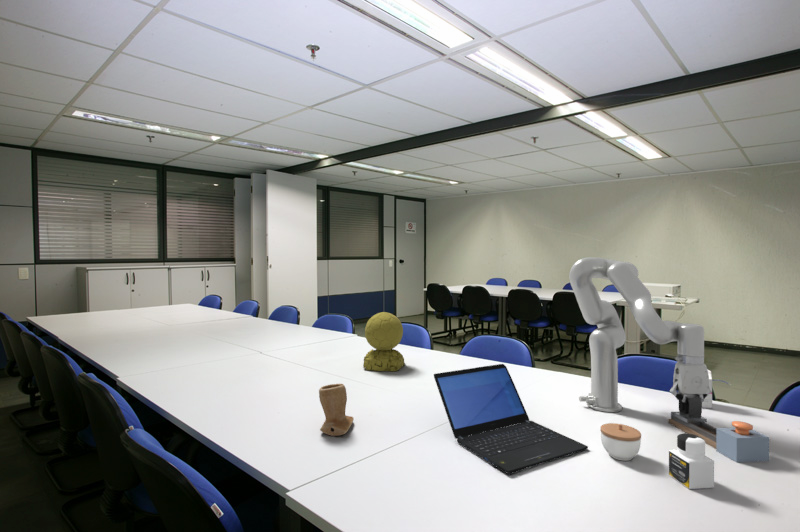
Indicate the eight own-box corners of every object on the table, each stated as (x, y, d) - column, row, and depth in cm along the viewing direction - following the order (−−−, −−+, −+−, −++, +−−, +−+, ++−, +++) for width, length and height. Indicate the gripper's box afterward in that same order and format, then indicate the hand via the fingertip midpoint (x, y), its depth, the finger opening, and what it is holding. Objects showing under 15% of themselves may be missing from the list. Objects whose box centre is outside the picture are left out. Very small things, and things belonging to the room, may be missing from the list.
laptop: (507, 478, 111) (507, 407, 111) (432, 428, 144) (432, 373, 144) (590, 451, 127) (590, 388, 126) (504, 412, 160) (504, 362, 159)
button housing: (736, 462, 119) (736, 438, 119) (716, 451, 126) (716, 428, 126) (769, 461, 119) (769, 437, 119) (747, 450, 126) (747, 427, 126)
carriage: (687, 427, 140) (687, 398, 140) (674, 420, 146) (674, 393, 145) (706, 426, 140) (706, 398, 140) (693, 419, 146) (693, 392, 146)
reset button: (741, 440, 120) (741, 427, 120) (727, 433, 125) (727, 421, 125) (757, 440, 120) (757, 427, 120) (742, 433, 125) (742, 420, 125)
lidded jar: (592, 451, 126) (592, 421, 126) (617, 445, 130) (617, 415, 130) (623, 467, 116) (623, 434, 116) (649, 460, 120) (649, 428, 120)
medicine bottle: (668, 475, 112) (668, 431, 112) (692, 473, 112) (693, 430, 112) (688, 489, 105) (689, 442, 105) (714, 488, 105) (715, 441, 105)
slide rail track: (719, 450, 126) (719, 438, 126) (668, 422, 148) (668, 411, 148) (744, 450, 126) (744, 437, 126) (689, 422, 148) (689, 411, 148)
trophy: (359, 371, 219) (358, 314, 218) (369, 361, 240) (368, 309, 240) (400, 372, 215) (400, 315, 215) (407, 362, 237) (407, 310, 236)
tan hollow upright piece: (325, 419, 152) (324, 379, 152) (356, 421, 150) (356, 380, 150) (311, 437, 137) (310, 392, 137) (346, 438, 135) (345, 393, 135)
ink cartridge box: (688, 400, 171) (688, 365, 171) (701, 401, 170) (701, 365, 170) (698, 407, 163) (698, 370, 162) (712, 408, 162) (713, 371, 161)
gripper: (675, 362, 138) (674, 417, 139) (722, 362, 139) (722, 415, 140) (659, 357, 146) (659, 409, 146) (705, 356, 147) (704, 407, 147)
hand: (690, 411), depth 143 cm, fingers closed on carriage, 4 cm apart
